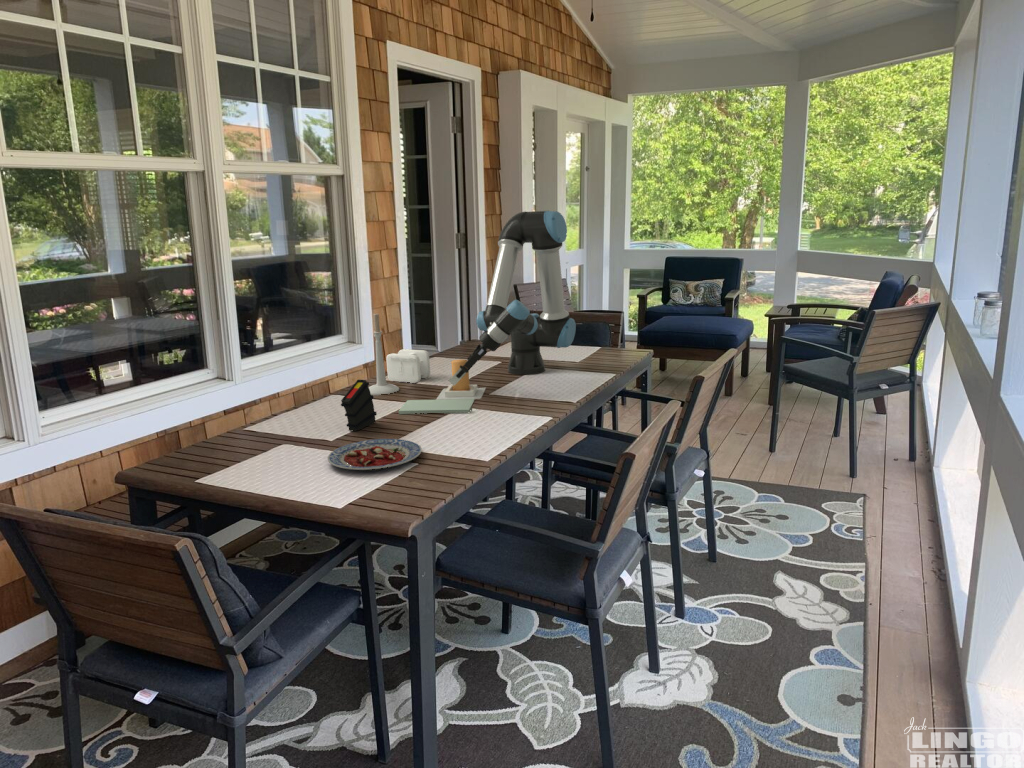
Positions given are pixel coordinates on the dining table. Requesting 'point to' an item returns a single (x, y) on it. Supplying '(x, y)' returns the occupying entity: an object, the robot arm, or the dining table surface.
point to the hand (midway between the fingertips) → (454, 378)
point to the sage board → (437, 406)
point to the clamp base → (461, 393)
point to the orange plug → (464, 381)
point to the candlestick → (380, 365)
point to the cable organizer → (408, 365)
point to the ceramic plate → (374, 454)
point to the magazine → (359, 406)
